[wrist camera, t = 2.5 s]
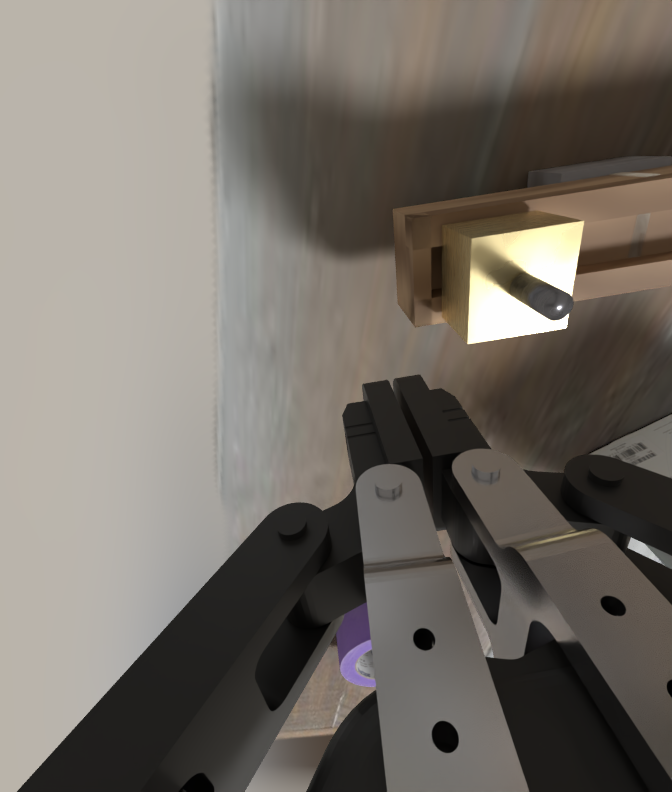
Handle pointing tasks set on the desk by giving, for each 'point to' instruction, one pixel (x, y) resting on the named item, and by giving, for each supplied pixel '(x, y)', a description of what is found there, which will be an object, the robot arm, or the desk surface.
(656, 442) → the hard drive box
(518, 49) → the desk surface
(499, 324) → the rider
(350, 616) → the tape roll
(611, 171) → the beam
